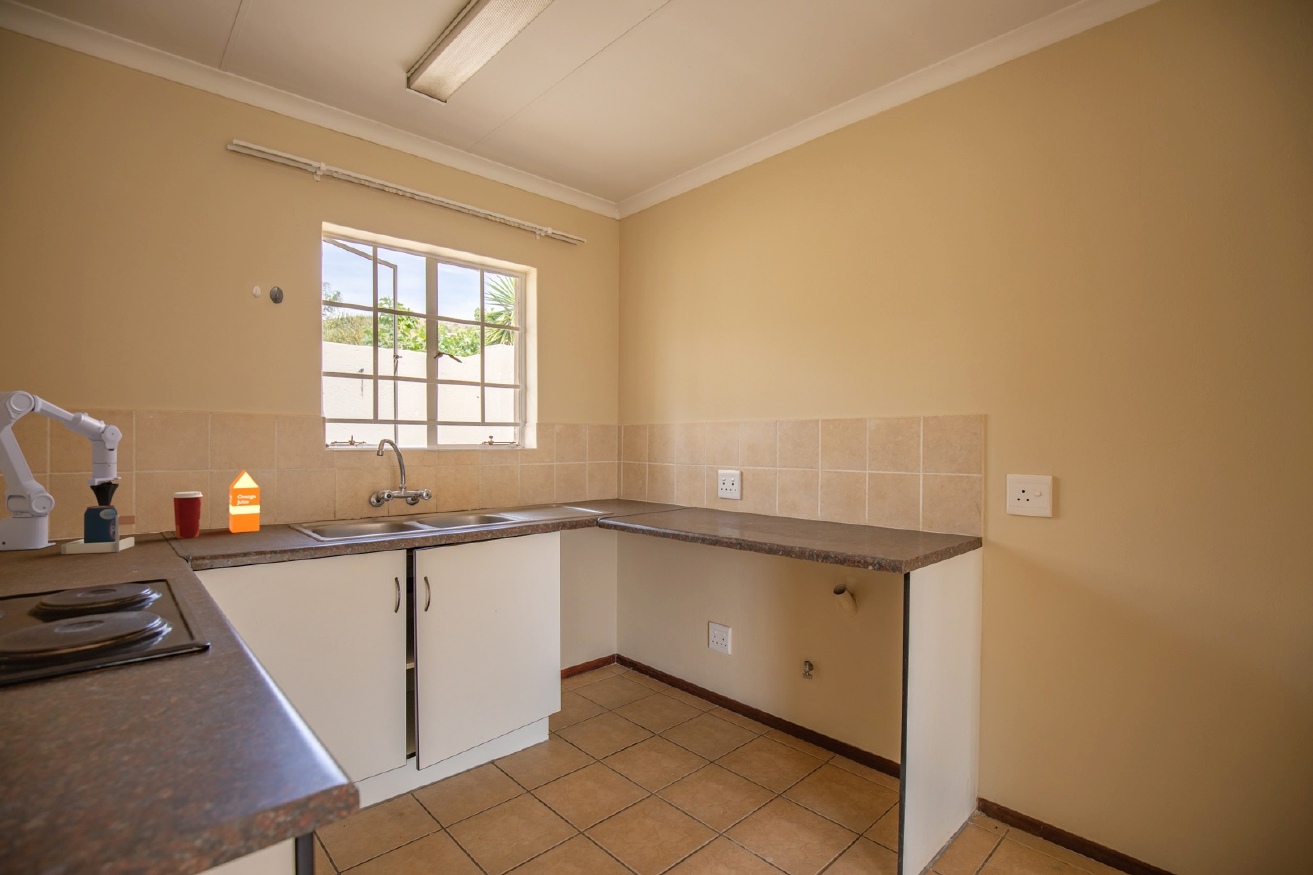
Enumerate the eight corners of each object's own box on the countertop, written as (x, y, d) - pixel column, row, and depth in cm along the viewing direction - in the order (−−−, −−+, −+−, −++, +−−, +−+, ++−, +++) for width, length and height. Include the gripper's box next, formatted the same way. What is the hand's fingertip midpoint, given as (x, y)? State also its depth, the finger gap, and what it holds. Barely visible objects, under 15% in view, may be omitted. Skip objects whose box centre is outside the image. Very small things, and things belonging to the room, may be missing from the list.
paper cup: (208, 535, 199) (209, 491, 199) (188, 539, 191) (188, 493, 191) (186, 534, 200) (186, 491, 200) (165, 538, 192) (165, 493, 192)
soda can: (119, 549, 174) (119, 506, 174) (86, 552, 169) (86, 508, 169) (114, 546, 179) (114, 504, 179) (81, 549, 173) (82, 506, 173)
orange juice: (256, 527, 216) (256, 469, 216) (259, 530, 210) (260, 470, 210) (228, 529, 212) (229, 470, 212) (231, 532, 205) (232, 471, 205)
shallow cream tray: (58, 554, 166) (59, 517, 166) (82, 547, 176) (83, 512, 176) (134, 551, 171) (134, 515, 171) (153, 544, 181) (153, 510, 181)
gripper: (107, 464, 188) (107, 509, 188) (131, 462, 202) (131, 504, 202) (78, 464, 186) (78, 510, 186) (105, 462, 200) (105, 504, 200)
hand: (104, 507), depth 194 cm, fingers closed
